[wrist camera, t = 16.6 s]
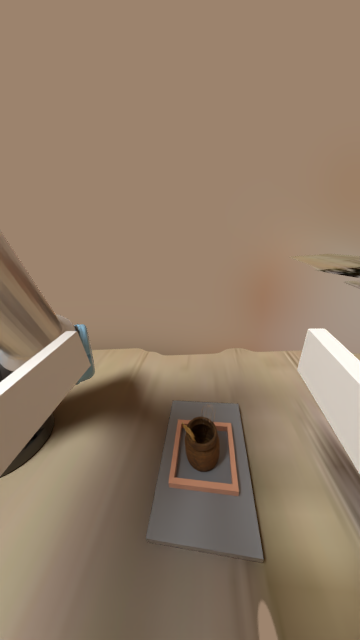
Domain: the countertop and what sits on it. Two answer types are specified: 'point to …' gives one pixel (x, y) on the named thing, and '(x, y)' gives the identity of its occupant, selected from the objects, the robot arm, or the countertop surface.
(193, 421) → the utensil holder
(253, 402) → the countertop surface
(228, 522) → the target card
